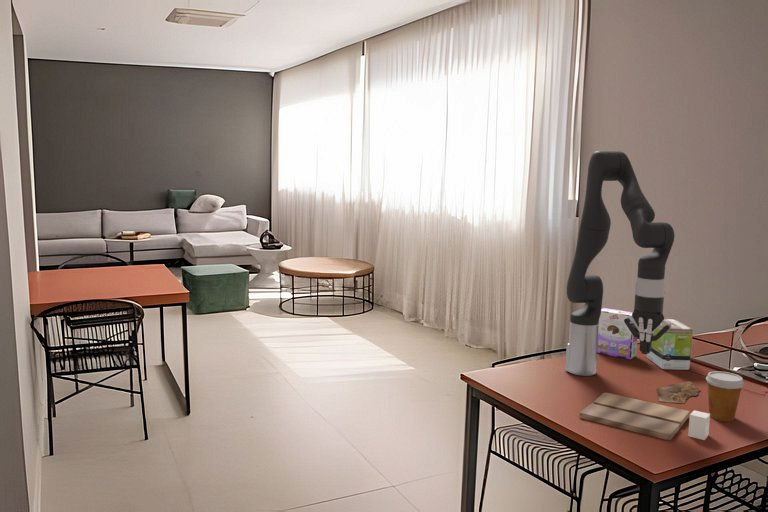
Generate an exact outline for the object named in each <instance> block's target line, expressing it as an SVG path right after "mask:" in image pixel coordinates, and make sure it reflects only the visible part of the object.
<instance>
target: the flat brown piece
mask: <svg viewBox="0 0 768 512" xmlns="http://www.w3.org/2000/svg"><path fill="white" fill-rule="evenodd" d="M656 391H657V396H658V402H659V403H666V404H677V405H682V404H683V405H685V404H686V402H687V400H688V399H690V397H695V396H698V395H699V392H702V390H700V389H699V388H698V386H696V385H694V383H692V381H689V380H688V381H682V382H680V383H679V382H678V383H675V384H669V385H665V386H662V387H658V388H656Z"/></svg>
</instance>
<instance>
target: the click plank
mask: <svg viewBox="0 0 768 512" xmlns="http://www.w3.org/2000/svg"><path fill="white" fill-rule="evenodd" d="M592 404H596V405H601V406H605V407H609V408H613V409H618V410H622V411H626V412H630V413H635V414H639V415H643V416H647V417H652V418H656V419H660V420H664V421H669V422H673V423H677V424H680V426H679V427H680V429H681V428H682V427H683V426H684V425H685V423H686V421H687V420H688V419H689V418H690V414H691V412H690V410H686V409H681V408H677V407H672V406H669V405H668V406H667V405H663V404H659V403H654V402H650V401H646V400H641V399H637V398H632V397H628V396H624V395H619V394H614V393H610V392H603V393H602V394H601V395H599V396H598V397H597V398H596V399H595V400H594V401H593V402H592Z"/></svg>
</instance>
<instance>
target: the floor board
mask: <svg viewBox="0 0 768 512" xmlns="http://www.w3.org/2000/svg"><path fill="white" fill-rule="evenodd" d="M579 419H583V420H587V421H591V422H594V423H598V424H602V425H606V426H610V427H614V428H618V429H622V430H626V431H631V432H634V433H638V434H642V435H646V436H651V437H654V438H659V439H662V440H666V441H671V440H672V439H673V438H674V436H675V435H676V434H677V433H678V432H679V430H681V428H680V427H679V426H680V424H677V423H673V422H669V421H664V420H660V419H656V418H652V417H647V416H643V415H639V414H635V413H630V412H626V411H622V410H618V409H613V408H609V407H605V406H601V405H596V404H593V403H590V404H589V405H588V406H586V407H585V408H583V410H581V411H580V412H579Z"/></svg>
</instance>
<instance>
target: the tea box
mask: <svg viewBox="0 0 768 512" xmlns="http://www.w3.org/2000/svg"><path fill="white" fill-rule="evenodd" d="M664 320H665V321H666V322H667V323H668V324H671V328H670V329H669V330H668V331H667V332H666V333H665V334H663V335H662V336H661V337H660V338H659V339H658V340H656V341H652V347H651V352H649V353H648V354H645V357H646V358H647V359H649V361H651V362H652V363H654V364H655V365H656V366H658V367H659V368H660V369H662V370H673V371H674V370H677V371H678V370H680V371H684V370H686V371H687V370H688V371H689V370H690V365H691V355H692V346H693V335H694V329H693V328H692V327H690V326H688V325H686V324H685V323H683V322H680V321H679V320H677V319H672V318H670V319H669V318H664ZM661 325H662V324H660V325H659V326H658V327H657V328H656V329H655V331H654V335H653V336H655V335H656V334H657V333H658V332H659V331H660V330H661Z"/></svg>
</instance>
